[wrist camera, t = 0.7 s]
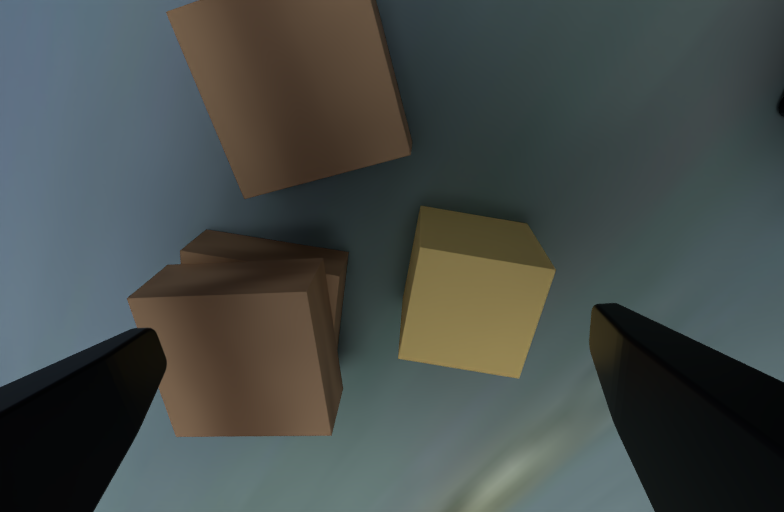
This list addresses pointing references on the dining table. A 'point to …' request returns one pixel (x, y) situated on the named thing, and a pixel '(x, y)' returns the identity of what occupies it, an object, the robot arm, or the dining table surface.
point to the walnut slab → (294, 87)
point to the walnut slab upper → (245, 347)
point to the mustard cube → (473, 292)
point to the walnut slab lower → (249, 248)
